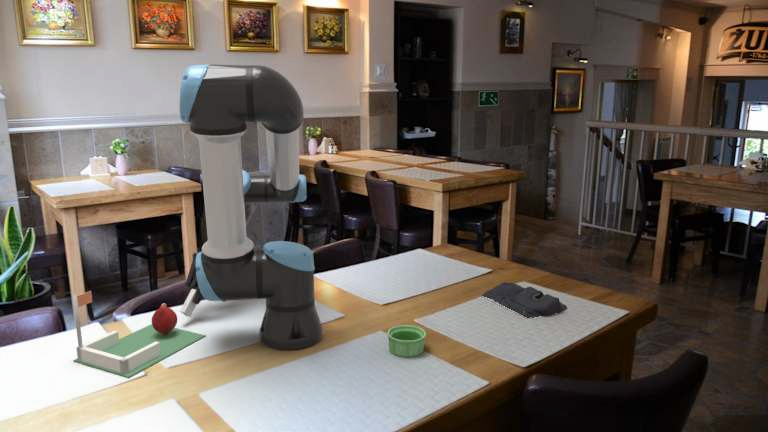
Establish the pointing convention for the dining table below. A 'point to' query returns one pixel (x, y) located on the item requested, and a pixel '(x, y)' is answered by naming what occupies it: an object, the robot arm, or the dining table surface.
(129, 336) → the felt mat
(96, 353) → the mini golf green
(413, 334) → the ramekin
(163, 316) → the onion
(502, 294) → the dark grey lumpy slab
